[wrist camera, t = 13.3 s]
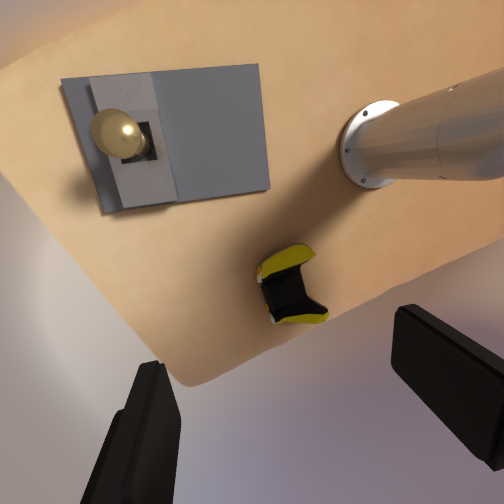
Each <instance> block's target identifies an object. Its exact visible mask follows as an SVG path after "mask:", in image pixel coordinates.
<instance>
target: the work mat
mask: <svg viewBox="0 0 504 504" xmlns="http://www.w3.org/2000/svg"><path fill="white" fill-rule="evenodd" d="M142 73H151V74H152V76H153V80H154V84H155V89H156V93H157V98H158V102H159V107H160V111H161V116H162V121H163V125H164V130H165V134H166V139H167V143H168V148H169V152H170V157H171V161H172V166H173V170H174V175H175V180H176V184H177V189H178V193H179V198H180V199H179V200H176V201H169V202H162V203H155V204H148V205H141V206H134V207H127V208H124V207H123V204H122V201H121V197H120V194H119V191H118V187H117V184H116V181H115V177H114V174H113V171H112V167H111V164H110V161H109V157H108V155H107V154H105V153H104V152H102V151H101V150H100V149H99V148H98V147H97V145H96V144H95V142H94V140H93V138H92V135H91V123H92V120H93V118H94V116H95V115H96V114H97V113H98V108H97V105H96V102H95V98H94V95H93V91H92V88H91V85H90V81H89V77H78V78H66V79H61V83H62V86H63V89H64V92H65V95H66V98H67V101H68V104H69V107H70V110H71V113H72V116H73V119H74V122H75V125H76V128H77V131H78V134H79V137H80V140H81V143H82V146H83V149H84V152H85V156H86V159H87V162H88V165H89V168H90V171H91V174H92V177H93V180H94V183H95V186H96V189H97V192H98V195H99V198H100V201H101V204H102V207H103V210H104V213H108V212H115V211H122V210H129V209H136V208H143V207H150V206H157V205H164V204H170V203H177V202H184V201H191V200H198V199H205V198H212V197H219V196H226V195H233V194H240V193H247V192H254V191H260V190H267V189H270V179H269V169H268V158H267V148H266V138H265V127H264V117H263V107H262V96H261V86H260V76H259V65H258V63H257V64H244V65H232V66H219V67H206V68H193V69H181V70H168V71H155V72H142ZM130 74H140V73H130ZM117 75H128V74H117ZM104 76H115V75H104ZM91 77H102V76H91ZM139 128H140V130H141V132H143V133H144V134H146V135H147V136H148V137H149V138H150V139H151V141H152V144H153V149H152V152H151V153H150V154H149V155H148V156H146V157H139V156H135V155H134V156H132V157H130V158H126V160H127V163H136V162H144V161H152V160H158V158H157V154H156V150H155V145H154V141H153V137H152V133H151V128H150V125H149V126H139Z"/></svg>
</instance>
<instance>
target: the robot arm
mask: <svg viewBox="0 0 504 504" xmlns="http://www.w3.org/2000/svg"><path fill="white" fill-rule="evenodd" d="M345 150H346V152H345ZM340 159H341V164H342V167H343V170H344V172H345V173H346V175H347V176H348V178H349V179H350V180H351V181H352V182H354V183H355V184H356V185H359V186H361V187H365V188H381V187H384V186H387V185H389V184H391V183H392V182H394V181H395V180H397V179H415V180H454V181H487V180H494V179H498V178H502V177H504V67H502V68H500V69H497V70H494V71H492V72H489V73H486V74H483V75H481V76H478V77H475V78H472V79H470V80H467V81H464V82H461V83H459V84H456V85H453V86H450V87H448V88H445V89H442V90H439V91H437V92H434V93H431V94H428V95H426V96H423V97H420V98H417V99H415V100H412V101H409V102H406V103H403V104H399V103H397V102H394V101H391V100H381V101H376V102H373V103H371V104H369V105H367V106H365V107H363V108H362V109H360V110H359V111H358V112H357V113H356V114H355V115H354V116H353V117H352V118H351V120H350V121H349V122H348V124H347V126H346V128H345V130H344V133H343V135H342V139H341V144H340ZM391 365H392V367H393V369H394V371H395V372H396V373H397V374H398V375H399V376H400V377H401V378H402V380H403V381H404V382H405V383H406V384H407V385H408V386H409V387H410V388H411V389H412V390H413V391H414V392H415V393H416V394H417V395H418V396H419V397H420V399H421V400H422V401H423V402H424V403H425V404H426V405H427V406H428V407H429V408H430V409H431V410H432V411H433V412H434V413H435V414H436V416H438V418H439V419H440V420H441V421H442V422H443V423H444V424H445V425H446V426H447V427H448V428H449V429H450V430H451V431H452V432H453V433H454V435H455V436H456V437H457V438H458V439H459V440H460V441H461V442H462V443H463V444H464V445H465V446H466V447H467V448H468V449H469V451H470V452H471V453H472V454H473V455H474V456H475V457H477V458H478V459H480V460H482V461H484V462H485V463H486V464H487V465H488V466H489V467H490V468H491V469H492V470H493V471H497V470H501V469H504V359H502V358H501V357H499V356H497V355H496V354H494V353H493V352H491V351H489V350H487V349H486V348H485V347H483V346H481V345H480V344H478V343H477V342H475V341H473V340H472V339H470V338H469V337H467V336H466V335H464V334H462V333H461V332H459V331H457V330H456V329H454V328H453V327H451V326H450V325H448V324H446V323H445V322H443V321H442V320H440V319H438V318H437V317H435V316H434V315H432V314H430V313H429V312H427V311H426V310H424V309H423V308H421V307H419V306H418V305H416V304H409V305H405V306H401V307H399V308H398V309H397V311H396V312H395V318H394V331H393V342H392V354H391ZM180 431H181V416H180V412H179V409H178V406H177V403H176V400H175V396H174V393H173V390H172V386H171V383H170V380H169V377H168V374H167V370H166V367H165V364H164V363H161V364H160V363H159V361H158V360H156V361H152V362H147V363H142V364H141V365H140V366H139V368H138V371H137V374H136V377H135V380H134V383H133V386H132V388H131V391H130V393H129V396H128V399H127V402H126V404H125V407H124V409H122V410H119V411H117V413H116V414H115V416H114V418H113V420H112V423H111V425H110V428H109V431H108V433H107V436H106V438H105V441H104V443H103V446H102V448H101V451H100V453H99V456H98V459H97V461H96V464H95V466H94V469H93V471H92V474H91V476H90V479H89V482H88V484H87V487H86V489H85V492H84V495H83V497H82V499H81V502H80V504H173V495H174V485H175V477H176V468H177V459H178V449H179V439H180Z"/></svg>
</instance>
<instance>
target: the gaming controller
mask: <svg viewBox="0 0 504 504" xmlns="http://www.w3.org/2000/svg"><path fill="white" fill-rule="evenodd" d="M315 255H316V254H315V252H314V251H313V250H312V249H311V248H310V247H309V246H308V245H306V244H304V243H297V244H291V245H289V246H287V247H285V248H283V249H281V250H279V251H277V252H275V253H273V254H272V255H270V256H269V257H268V258H266V259H265V260H263V261H262V262H261V264H260V266H259V267H258V268H257V274H256V280H257V283H258V284H259V285H260V286H261V289H262V292H263V295H264V298H265V301H266V304H265V307H266V310H267V311H268V313H269V314H270V321H271V323H272V324H281V323H283V322H295V323H312V324H317V323H321V322H325V321H326V319H327V318H328V315H329V311H328V309H327V308H326V307H325V306H323V305H322V304H320V303H318V302H317V301H315V300H313V299H312V298H310V297H309V296H307V294H306V291H305V287H304V283H303V279H302V275H301V272H300V267H301V264H303V263H305V262H307V261H309V260H311V259H312V258H313V257H314V256H315Z"/></svg>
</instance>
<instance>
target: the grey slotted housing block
mask: <svg viewBox="0 0 504 504" xmlns="http://www.w3.org/2000/svg"><path fill="white" fill-rule="evenodd" d="M89 81H90V85H91V88H92V91H93V95H94V98H95V102H96V105H97V108H98V112H100V111H101V110H104V109H108V108H114V109H119V110H121V111H123V112H125V113H127V114H128V115H129V116H131V117H132V118H133V119H134V120H135V121H136V123H137V124H138V126H149V125H150V128H151V133H152V137H153V141H154V145H155V150H156V154H157V158H158V160H152V161H144V162H136V163H127V160H126V159H120V158H114V157H111V156H109V155H108V157H109V161H110V164H111V167H112V171H113V174H114V177H115V181H116V184H117V187H118V191H119V194H120V197H121V201H122V204H123V207H124V208H127V207H134V206H141V205H148V204H155V203H162V202H169V201H176V200H179V199H180V198H179V193H178V189H177V184H176V180H175V175H174V170H173V166H172V161H171V157H170V152H169V148H168V143H167V139H166V134H165V130H164V125H163V121H162V116H161V111H160V107H159V102H158V98H157V93H156V89H155V84H154V80H153V76H152V74H151V73H140V74H128V75H115V76H102V77H89Z"/></svg>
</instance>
